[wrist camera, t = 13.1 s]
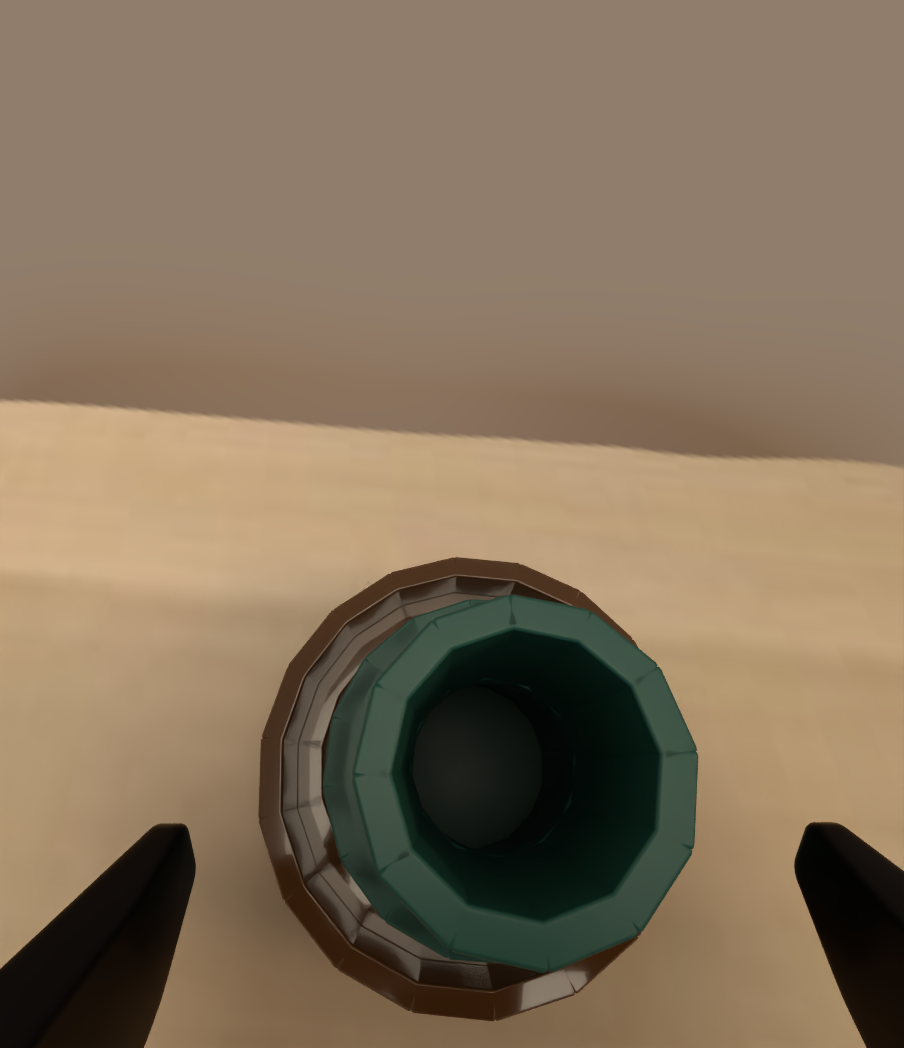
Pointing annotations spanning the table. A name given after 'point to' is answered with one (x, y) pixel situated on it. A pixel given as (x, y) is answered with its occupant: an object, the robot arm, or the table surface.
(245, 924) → the table surface
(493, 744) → the ceramic bottle
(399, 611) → the brown round bowl
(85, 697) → the table surface
